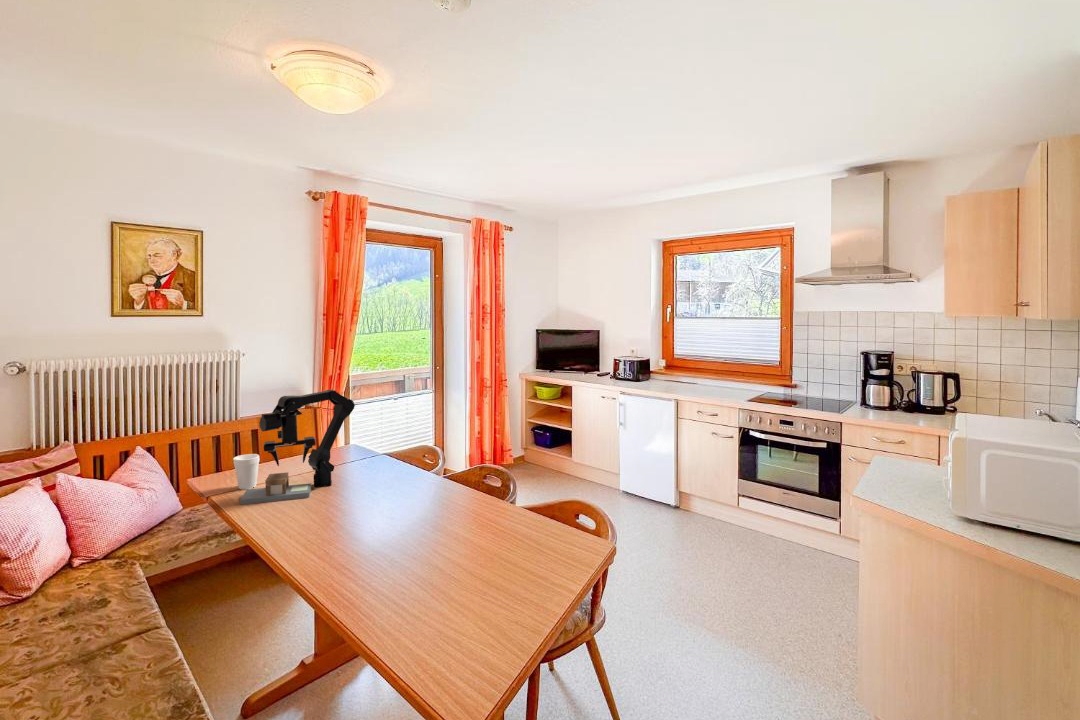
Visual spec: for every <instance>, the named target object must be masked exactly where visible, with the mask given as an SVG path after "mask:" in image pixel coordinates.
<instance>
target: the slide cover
mask: <svg viewBox="0 0 1080 720" xmlns="http://www.w3.org/2000/svg"><path fill="white" fill-rule="evenodd" d="M289 480H290V479H289V471H287V472H279V473H278V472H277V473H276V472H275V473H269V474H268V476H267V477H266V479H265V488H266V495H270V486H272V485H282V494H285V493H286V487H289V483H290V481H289Z"/></svg>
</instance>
